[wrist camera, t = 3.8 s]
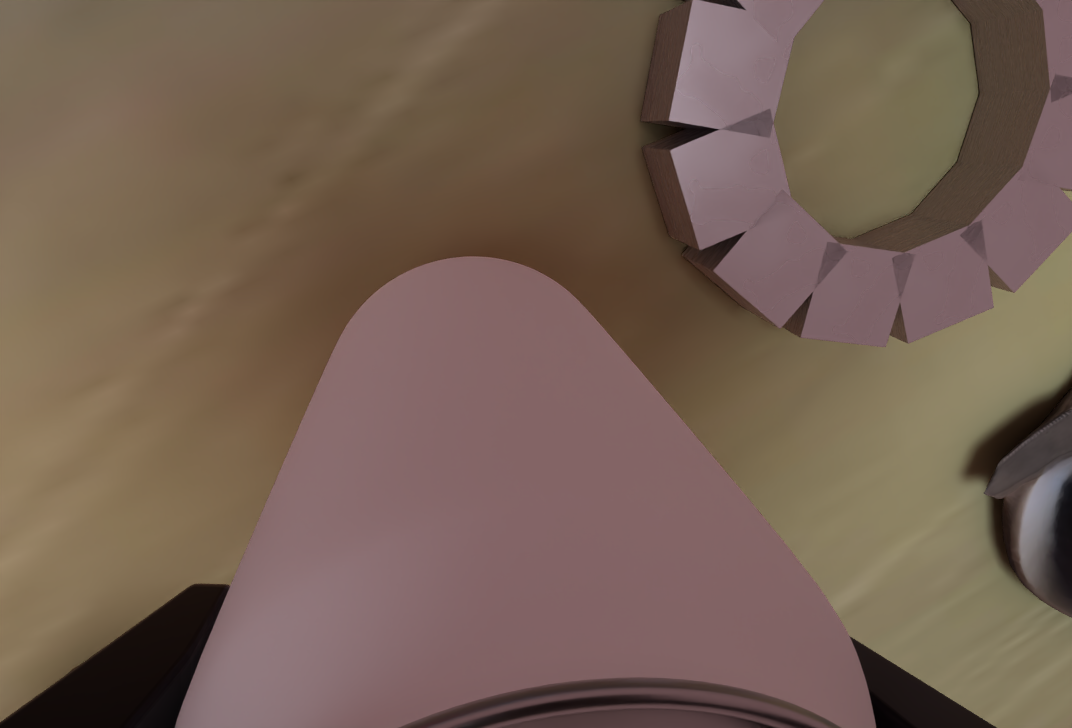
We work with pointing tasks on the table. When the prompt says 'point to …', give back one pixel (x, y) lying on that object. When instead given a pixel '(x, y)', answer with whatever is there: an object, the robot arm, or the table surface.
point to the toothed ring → (896, 248)
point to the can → (511, 542)
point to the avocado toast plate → (1040, 507)
